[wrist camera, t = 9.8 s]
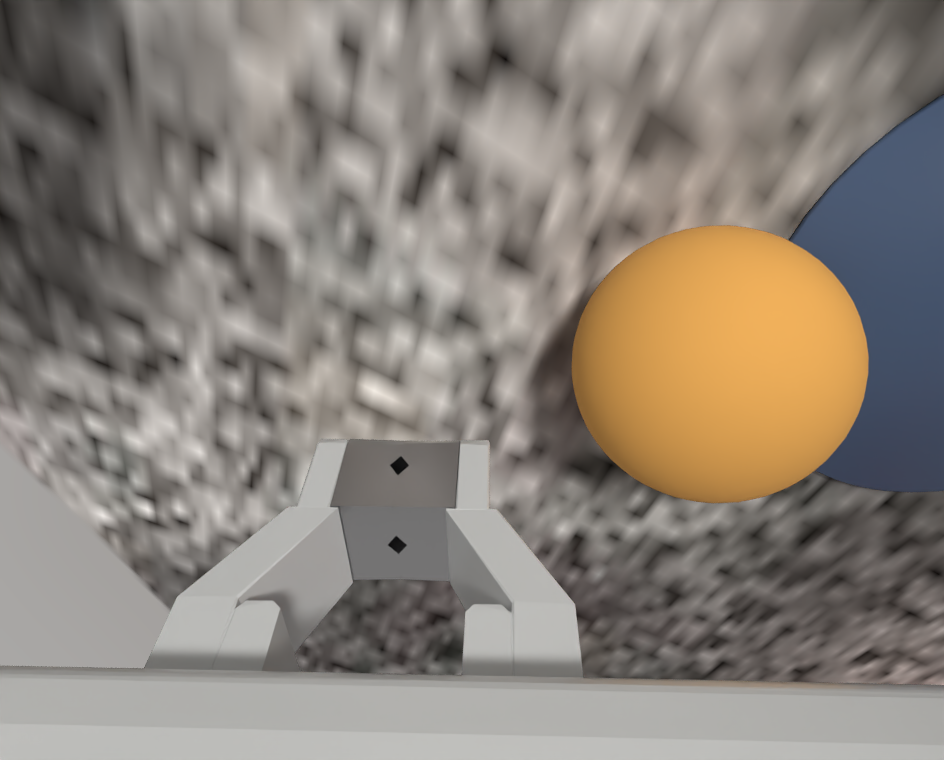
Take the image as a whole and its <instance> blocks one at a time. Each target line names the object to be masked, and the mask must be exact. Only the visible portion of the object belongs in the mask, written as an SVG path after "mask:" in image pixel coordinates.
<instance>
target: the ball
mask: <svg viewBox="0 0 944 760" xmlns="http://www.w3.org/2000/svg"><path fill="white" fill-rule="evenodd" d="M868 360H869V355H868V348H867V341H866V336H865V332H864V329H863V325H862V322H861V318H860V316H859V313H858V311H857V309H856V307H855V304H854V302H853V300H852V299H851V297H850V295H849V294H848V292H847V291H846V289H845V287H844V286H843V285H842V284H841V282H840V281H839V280H838V279H837V277H836V276H835V275H834V274H833V273H832V272H831V271H830V270H829V269H828V268H827V267H826V266H825V265H824V264H823V263H822V262H821V261H820V260H818V259H817V258H816V257H814V256H813V255H812V254H810V253H809V252H807V251H806V250H804V249H803V248H801V247H799V246H797V245H796V244H794V243H792V242H790V241H788V240H786V239H784V238H781V237H779V236H776V235H774V234H771V233H768V232H764V231H760V230H756V229H752V228H746V227H738V226H729V225H727V226H704V227H697V228H691V229H685V230H682V231H679V232H675V233H672V234H669V235H667V236H664V237H661V238H658V239H657V240H655V241H653V242H651V243H649V244H647V245H645V246H643V247H641V248H640V249H638V250H636V251H635V252H633V253H632V254H631V255H629V256H628V257H627V258H625V259H624V260H623V261H622V262H620V263H619V264H618V265H617V266H616V267H615V268H614V269H613V270H612V271H611V272H610V273H609V274H608V275H607V276H606V277H605V278H604V280H603V281H602V282H601V283H600V284H599V286H598V287H597V289H596V290H595V292H594V293H593V294H592V296H591V298H590V300H589V302H588V303H587V305H586V307H585V309H584V311H583V313H582V316H581V318H580V321H579V325H578V328H577V331H576V335H575V338H574V344H573V352H572V381H573V387H574V392H575V396H576V400H577V403H578V407H579V409H580V412H581V415H582V417H583V420H584V422H585V424H586V426H587V428H588V430H589V431H590V433H591V435H592V436H593V438H594V439H595V441H596V442H597V444H598V445H599V446H600V447H601V449H602V450H603V451H604V452H605V453H606V454H607V456H608V457H609V458H610V459H611V460H612V461H613V462H615V463H616V464H617V465H618V466H619V467H620V468H621V469H623V470H624V471H625V472H626V473H628V474H629V475H630V476H632V477H633V478H635V479H636V480H638V481H640V482H641V483H643V484H645V485H647V486H649V487H651V488H653V489H655V490H657V491H660V492H662V493H665V494H668V495H671V496H673V497H677V498H681V499H686V500H691V501H697V502H706V503H729V502H741V501H746V500H752V499H756V498H760V497H764V496H767V495H770V494H773V493H775V492H778V491H781V490H783V489H785V488H787V487H789V486H791V485H793V484H795V483H797V482H798V481H800V480H802V479H803V478H805V477H806V476H808V475H809V474H810V473H812V472H813V471H815V470H816V469H817V468H818V467H819V466H821V465H822V464H823V463H824V462H825V461H826V460H827V459H828V458H829V457H830V456H831V455H832V454H833V452H834V451H835V450H836V449H837V448H838V447H839V445H840V444H841V443H842V442H843V440H844V439H845V438H846V436H847V434H848V433H849V431H850V429H851V427H852V425H853V424H854V422H855V420H856V418H857V416H858V414H859V411H860V408H861V405H862V402H863V399H864V395H865V389H866V384H867V378H868Z"/></svg>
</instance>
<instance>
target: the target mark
mask: <svg viewBox="0 0 944 760" xmlns="http://www.w3.org/2000/svg"><path fill="white" fill-rule="evenodd" d="M789 241H790V242H792V243H794V244H796V245H797V246H799V247H801V248H803V249H804V250H806V251H807V252H809V253H810V254H812V255H813V256H814V257H816V258H817V259H818V260H820V261H821V262H822V263H823V264H824V265H825V266H826V267H827V268H828V269H829V270H830V271H831V272H832V273H833V274H834V275H835V276H836V277H837V279H838V280H839V281H840V282H841V284H842V285H843V286H844V287H845V289H846V291H847V292H848V294H849V295H850V297H851V299H852V300H853V302H854V304H855V307H856V309H857V311H858V313H859V316H860V318H861V322H862V325H863V329H864V332H865V336H866V341H867V348H868V355H869V360H868V378H867V384H866V389H865V395H864V399H863V402H862V405H861V408H860V411H859V414H858V416H857V418H856V420H855V422H854V424H853V425H852V427H851V429H850V431H849V433H848V434H847V436H846V438H845V439H844V440H843V442H842V443H841V444H840V445H839V447H838V448H837V449H836V450H835V451H834V452H833V454H832V455H831V456H830V457H829V458H828V459H827V460H826V461H825V462H824V463H823V464H822V465H821V466H819V467H818V468H817V469H816V470H815V471H817V472H819V473H822V474H824V475H826V476H829V477H831V478H833V479H836V480H838V481H842V482H845V483H849V484H852V485H856V486H859V487H865V488H871V489H877V490H883V491H899V492H928V491H943V490H944V94H943V95H941V96H940V97H938V98H937V99H935V100H934V101H932V102H931V103H929V104H928V105H926V106H925V107H923V108H922V109H921V110H919V111H918V112H916V113H915V114H913V115H912V116H910V117H909V118H907V119H906V120H904V121H903V122H901V123H900V124H899V125H897V126H896V127H895V128H894V129H893V130H891V131H890V132H889V133H888V134H886V135H885V136H884V137H883V138H882V139H880V140H879V141H878V142H877V143H875V144H874V145H873V146H872V147H871V148H869V149H868V150H867V151H866V152H864V153H863V154H862V155H861V156H860V157H859V158H858V159H857V160H856V161H855V162H854V163H853V164H852V165H851V166H850V167H849V168H848V169H847V170H846V171H845V172H844V173H843V174H842V175H841V176H840V177H839V178H838V179H837V180H836V181H835V182H834V183H833V184H832V185H831V186H830V187H829V189H828V190H827V191H826V192H825V193H824V195H823V196H822V197H821V198H820V199H819V201H818V202H817V203H816V204H815V205H814V207H813V208H812V209H811V210H810V211H809V212H808V214H807V215H806V216H805V218H804V219H803V221H802V222H801V224H800V225H799V227H798V228H797V229H796V231H795V232H794V234H793V235H792V237H791V238H790V240H789Z"/></svg>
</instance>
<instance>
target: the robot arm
mask: <svg viewBox="0 0 944 760" xmlns="http://www.w3.org/2000/svg"><path fill="white" fill-rule="evenodd" d="M489 503H490V443H489V441H488V440H461V443H460V441H394V440H363V439H350V440H344V439H321V441H320V442H319V443H318V444H317V446H316V449H315V452H314V455H313V458H312V461H311V464H310V467H309V470H308V473H307V476H306V479H305V482H304V485H303V488H302V491H301V494H300V497H299V500H298V503H297V506H296V507H287V508H286V509H285V510H284V511H282V512H281V513H280V514H279V515H277V516H276V517H275V518H274V519H272V520H271V521H270V522H269V523H267V524H266V525H265V526H264V527H263V528H261V529H260V530H259V531H258V532H256V533H255V534H254V535H253V536H251V537H250V538H249V539H248V540H246V541H245V542H244V543H243V544H242V545H240V546H239V547H238V548H237V549H235V550H234V551H233V552H232V553H230V554H229V555H228V556H227V557H225V558H224V559H223V560H222V561H221V562H219V563H218V564H217V565H216V566H214V567H213V568H212V569H211V570H209V571H208V572H207V573H206V574H205V575H203V576H202V577H201V578H200V579H198V580H197V581H196V582H195V583H193V584H192V585H191V586H190V587H188V588H187V589H186V590H185V591H184V592H182V593H181V594H180V595H179V596H177V598H176V600H175V602H174V605H173V607H172V609H171V611H170V613H169V615H168V618H167V620H166V622H165V624H164V626H163V628H162V631H161V633H160V635H159V637H158V639H157V641H156V643H155V646H154V648H153V650H152V652H151V654H150V656H149V659H148V660H147V663H146V665H145V667H144V669H138V668H92V667H42V666H41V667H39V666H37V667H36V666H0V760H944V685H921V684H873V683H824V682H776V681H728V680H680V679H632V678H584V677H583V669H582V660H581V651H580V643H579V634H578V625H577V617H576V608H575V604H574V602H573V601H572V600H571V599H570V597H569V596H568V595H567V594H566V593H565V591H564V590H563V589H562V588H561V586H560V585H559V584H558V583H557V582H556V580H555V579H554V578H553V577H552V575H551V574H550V573H549V572H548V571H547V569H546V568H545V567H544V566H543V564H542V563H541V562H540V561H539V560H538V558H537V557H536V556H535V555H534V553H533V552H532V551H531V550H530V549H529V547H528V546H527V545H526V544H525V542H524V541H523V540H522V539H521V538H520V536H519V535H518V534H517V533H516V531H515V530H514V529H513V528H512V527H511V525H510V524H509V523H508V522H507V520H506V519H505V518H504V517H503V516H502V514H501V513H500V512H499V511H498V510H497V509H489ZM372 579H409V580H433V581H450V584H451V586H452V588H453V589H454V591H455V593H456V595H457V596H458V598H459V600H460V602H461V604H462V605H463V607H464V609H465V611H466V612H465V629H464V646H463V663H462V675H425V674H378V673H331V672H300V668H299V665H298V662H297V659H296V656H295V652H296V651H297V649H298V648H299V647H300V646H301V645H302V643H303V642H304V641H305V640H306V639H307V637H308V636H309V635H310V634H311V633H312V631H313V630H314V629H315V628H316V627H317V625H318V624H319V623H320V622H321V621H322V619H323V618H324V617H325V616H326V615H327V613H328V612H329V611H330V610H331V609H332V607H333V606H334V605H335V604H336V603H337V601H338V600H339V599H340V598H341V597H342V595H343V594H344V593H345V592H346V591H347V589H348V588H349V587H350V586H351V585H352V583H353V580H372Z"/></svg>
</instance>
